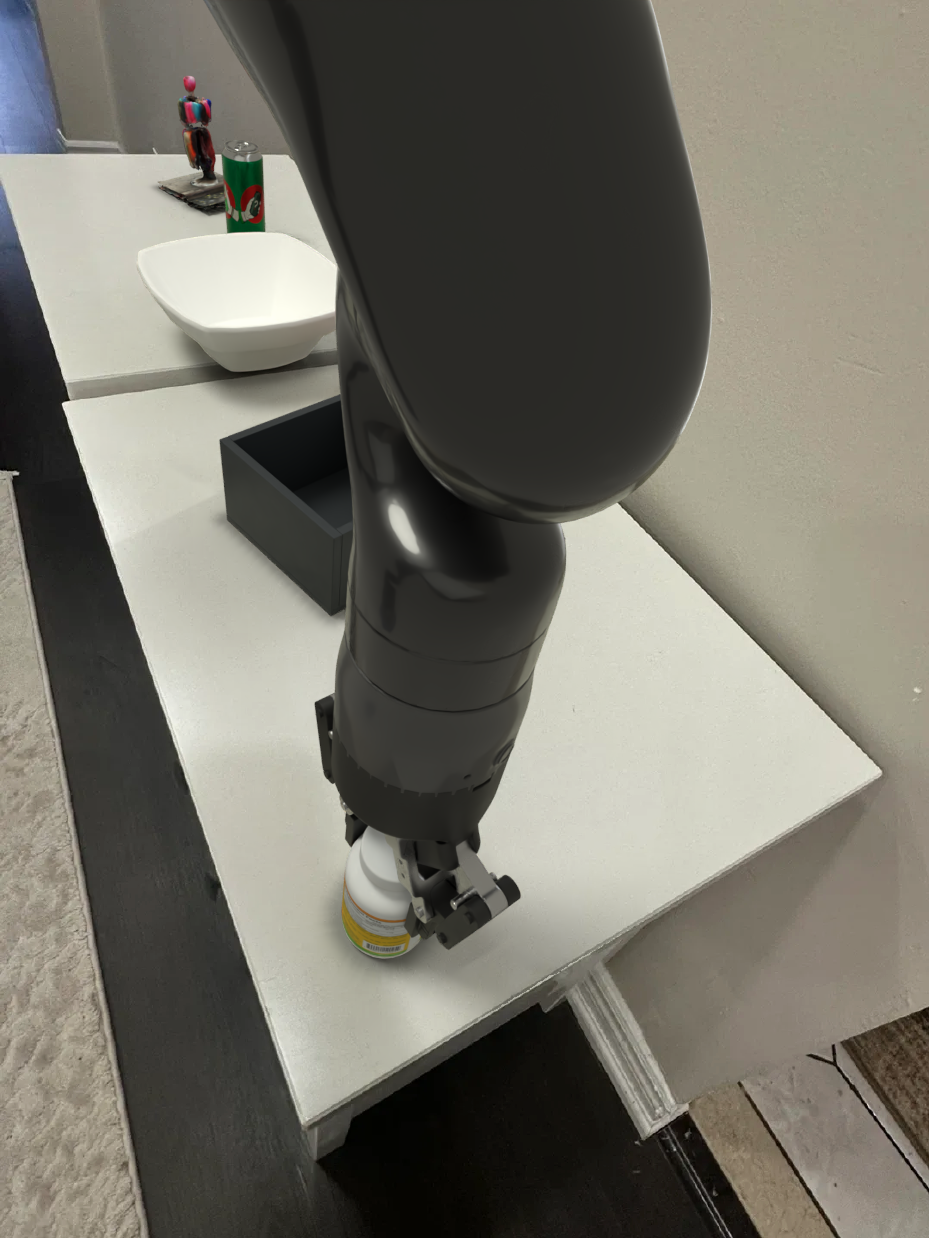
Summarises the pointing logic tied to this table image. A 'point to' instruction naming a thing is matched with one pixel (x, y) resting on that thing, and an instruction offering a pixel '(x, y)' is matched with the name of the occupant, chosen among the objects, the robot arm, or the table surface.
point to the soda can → (243, 187)
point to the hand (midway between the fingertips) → (393, 878)
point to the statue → (197, 154)
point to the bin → (295, 497)
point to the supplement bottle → (375, 899)
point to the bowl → (244, 295)
